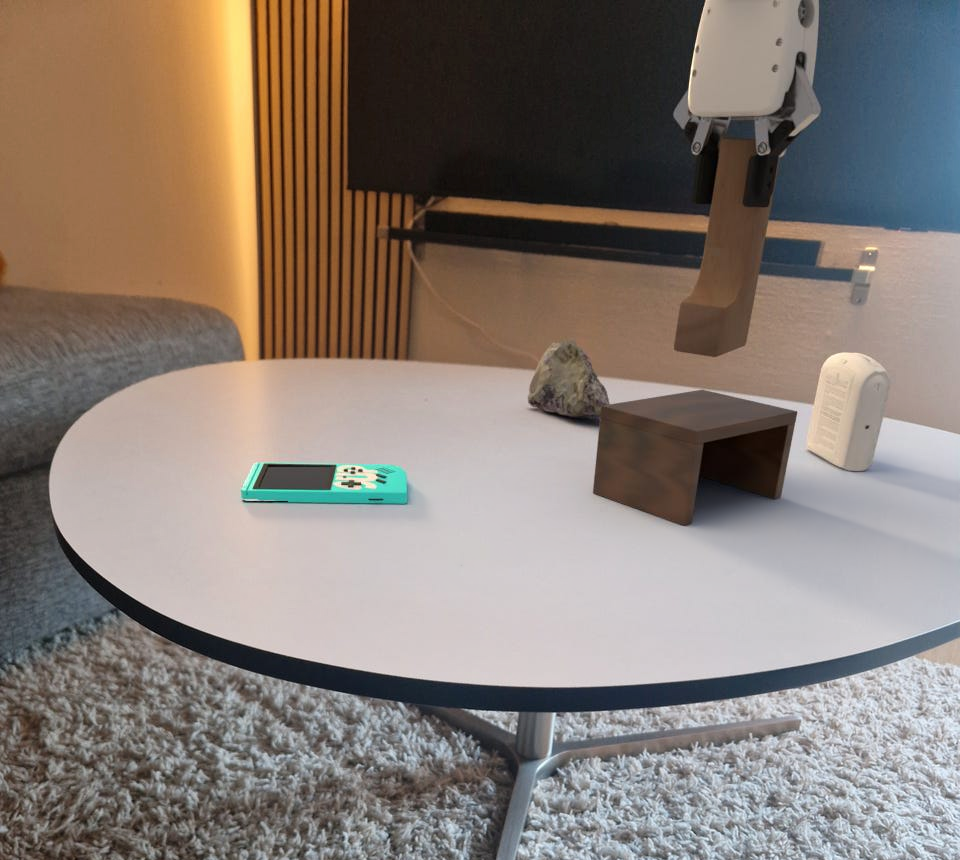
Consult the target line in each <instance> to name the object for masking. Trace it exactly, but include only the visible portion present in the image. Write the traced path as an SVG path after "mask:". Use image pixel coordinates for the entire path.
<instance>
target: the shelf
mask: <svg viewBox="0 0 960 860" xmlns="http://www.w3.org/2000/svg"><path fill="white" fill-rule="evenodd" d="M797 416H798V411H797V410H793V409H790V408H789V409H788V408H785V407H780V406H776V405H772V404H766V403H763V402H758V401H754V400H750V399H745V398H741V397H737V396H732V395H727V394H725V393H720V392H715V391H710V390H706V389H697V390H690V391H685V392H679V393H672V394H668V395H666V394H665V395H660V396H654V397H647V398H642V399H636V400H629V401H628V400H627V401H623V402H616V403H610V404H609V405H603V406H601V415H600V417H599V426H598V436H597V446H596V456H595V457H596V458H595V468H594V478H593V488H592V493H593V494H594V495H598V496H600V497H603V498H605V499H609V500H612V501H614V502H617V503H620V504H623V505H625V506H628V507H631V508H633V509H637V510H639V511H642V512H645V513H647V514H650V515H652V516H656V517H657V518H661V519H664V520H667V521H670V522H672V523H674V524H675V523H676V524H678V525H681V526H687V525H690V524H692V523H693V518H694V511H695V503H696V497H697V490H698V484H699V477H702V478H704V479H708V478H709V479H708V480H711V481H715V482H718V483H722V484H724V483H725V484H724V485H728V486H731V487H734V488H737V489H740V490H744V491H747V492H750V493H753V494H758V495H760V496H764V497H766V498H770V499H773V500H776V499H780V498H781V497H782V494H783V489H784V483H785V477H786V473H787V468H788V463H789V457H790V452H791V447H792V442H793V436H794V432H795V427H796V422H797Z"/></svg>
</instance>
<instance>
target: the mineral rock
mask: <svg viewBox="0 0 960 860" xmlns="http://www.w3.org/2000/svg"><path fill="white" fill-rule="evenodd" d="M528 389H529V390H528V391H529V392H528V395H527V403H528V405H530V406H531V407H532V408H537V409H540V410H544V411H545V412H547V413H557V414H558V415H561V416H567V417H569V418H575V419H581V418H582V419H583V418H588V419H590V420H591V419H596V418H600V415H601V406H603V405H609V404H611V403H610V399H609V396H608V391H607V389H606V387H605V386H604V384H603V383H602V382H601V381H600V380H599V378H598V375H597V373H595V370H594V368H593V365H592V361H591V359H590V357H589V356H588V355H587V353H586V352H585V351H584V349H582V348H581V347H579V346H578V345H577V343H576V340H574V339H573V338H571V339H564V340H562V341H561V343H559V342H557V341H555V342H552V343H551V344H550V345H549V346H548V348H547V349H546V350H545V352H544V353H543V355H542V356H541V358H540V359H539V362H538V364H537V366H536V368H535V372H534V375H533V377H532V378H531V380H530V384H529V387H528Z"/></svg>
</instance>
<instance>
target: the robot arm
mask: <svg viewBox="0 0 960 860" xmlns="http://www.w3.org/2000/svg"><path fill="white" fill-rule="evenodd" d="M819 17H820V1H819V0H705V1H704V6H703V10H702V12H701V17H700V20H699V21H700V22H699V25H698V29H697V35H696V40H695V44H694V50H693V56H692V61H691V67H690V73H689V74H690V75H689V83H688V88H687V90H686V91H685V92H684V94H683V96H682V98H680V101H679V102H678V104H676V107H675V108H674V110H673V114H672V116H673V118H674V120H675V121H676V122H677V124H678V125H679V126H680V128H681V129H682V130H684V135H685V137H686V138H687V140H688V142H689V144H690V145H691V148H690V149H691V153H692V155H694V156H696V159H695V167H694V174H693V175H694V176H693V183H692V195H691V203H692V204H693V205H711V203H712V197H713V191H714V184H715V178H716V171H717V165H718V158H719V152H720V145H721V142H722V139H724V138H726V135H727V132H728V129H729V126H730V123H731V121H751V120H753V121H754V135H755V136H754V137H755V139H756V151H757V153H756V156H750V159H749V162H748V169H747V176H746V183H745V189H744V196H743V205H744V206H745V207H768V206H769V204H770V199H771V195H772V193H773V189H774V190H775V187H774V183H775V184H776V182H775V177H776V178H777V176H776V170H777V164H778V158H779V157H780V158H782V157H783V156H785V154H786V153H787V148H788V147H789V146H790V145H791V144H792V143H793V142H794V141H795V139H797V137H799V135H800V134H801V132H802V131H803V130H805V129H806V128H807V127H808V126H809V125H810V124H811V123H812V122H814V121H815V120H816V119H817V118H818V117H819V116H820V114H821V111H822V107H821V104H820V102H819V99H818V98H817V95H816V93H815V91H814V88H813V83H814V76H815V68H816V61H817V60H816V59H817V52H818V51H817V49H818V39H819V23H820V22H819V19H820V18H819ZM699 117H700V119H699ZM773 194H774V193H773Z"/></svg>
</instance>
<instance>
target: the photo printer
mask: <svg viewBox="0 0 960 860" xmlns="http://www.w3.org/2000/svg"><path fill="white" fill-rule="evenodd" d="M891 384H892V383H891V376H890V375H889V373H888V371H887V370H886V369H885V368H884V366H882V364H880V362H878V361H877V360H875V359H874V358H873V357H870V356H868V355H866V354H864V353H860V352H838V353H834V354H832V355H830V356H829V357H828V358H827V359H826V360H825V361H824V363H823V365H822V367H821V368H820V373H819V378H818V383H817V388H816V392H815V396H814V397H815V398H814V403H813V408H812V412H811V416H810V421H809V426H808V431H807V436H806V441H805V447H806V449H807V450H809V451H810V452H812V453H814V454H815V455H817V456H819V457H821V458H822V459H824V460H826V461H828V462H829V463H830V464H833V465H835V466H837V467H839V468H841V469H843V470H845V471H849V472H864V471H867V470H868V469H870V468H871V466H872V463H873V460H874V457H875V452H876V449H877V445H878V440H879V436H880V432H881V428H882V425H883V424H882V423H883V420H884V415H885V412H886V407H887V403H888V399H889V395H890V391H891Z"/></svg>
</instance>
